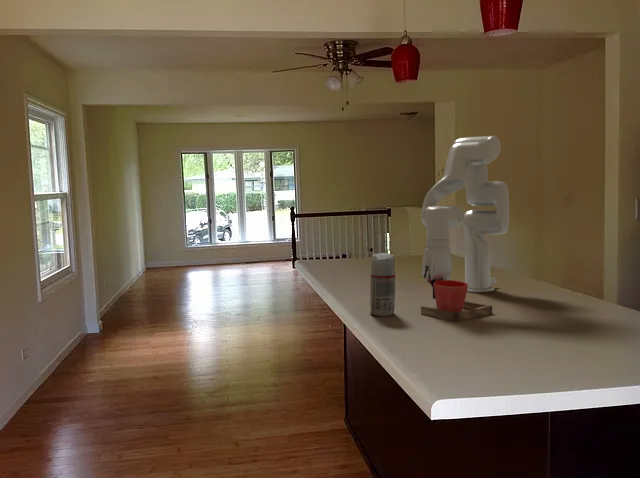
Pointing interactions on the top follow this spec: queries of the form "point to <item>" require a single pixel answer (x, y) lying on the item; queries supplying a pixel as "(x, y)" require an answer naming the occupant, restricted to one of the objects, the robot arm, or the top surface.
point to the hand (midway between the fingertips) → (437, 298)
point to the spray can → (382, 284)
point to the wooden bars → (472, 312)
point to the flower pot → (450, 295)
